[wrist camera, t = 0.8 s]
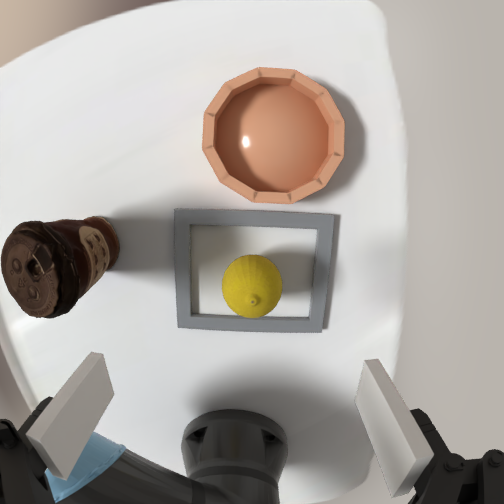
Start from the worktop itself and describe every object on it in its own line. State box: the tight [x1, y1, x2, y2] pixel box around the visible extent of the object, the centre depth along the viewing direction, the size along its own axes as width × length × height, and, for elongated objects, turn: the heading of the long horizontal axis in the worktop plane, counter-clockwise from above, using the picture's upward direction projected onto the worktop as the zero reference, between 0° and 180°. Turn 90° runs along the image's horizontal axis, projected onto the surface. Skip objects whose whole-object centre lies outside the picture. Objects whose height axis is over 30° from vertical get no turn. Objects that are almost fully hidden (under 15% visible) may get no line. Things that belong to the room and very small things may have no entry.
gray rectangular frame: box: [174, 208, 334, 333], centre depth 32 cm, size 13×16×1 cm
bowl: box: [202, 67, 345, 204], centre depth 27 cm, size 13×13×3 cm
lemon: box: [222, 255, 282, 318], centre depth 28 cm, size 6×6×8 cm
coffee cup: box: [1, 216, 119, 318], centre depth 25 cm, size 9×8×13 cm
